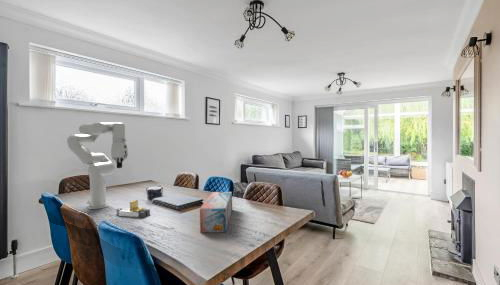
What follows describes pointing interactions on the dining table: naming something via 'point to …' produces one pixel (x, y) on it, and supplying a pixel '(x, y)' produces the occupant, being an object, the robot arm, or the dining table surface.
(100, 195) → the robot arm
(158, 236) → the dining table surface
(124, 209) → the tongs fixed arm
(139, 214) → the tongs arm
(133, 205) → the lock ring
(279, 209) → the dining table surface
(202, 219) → the soda box
